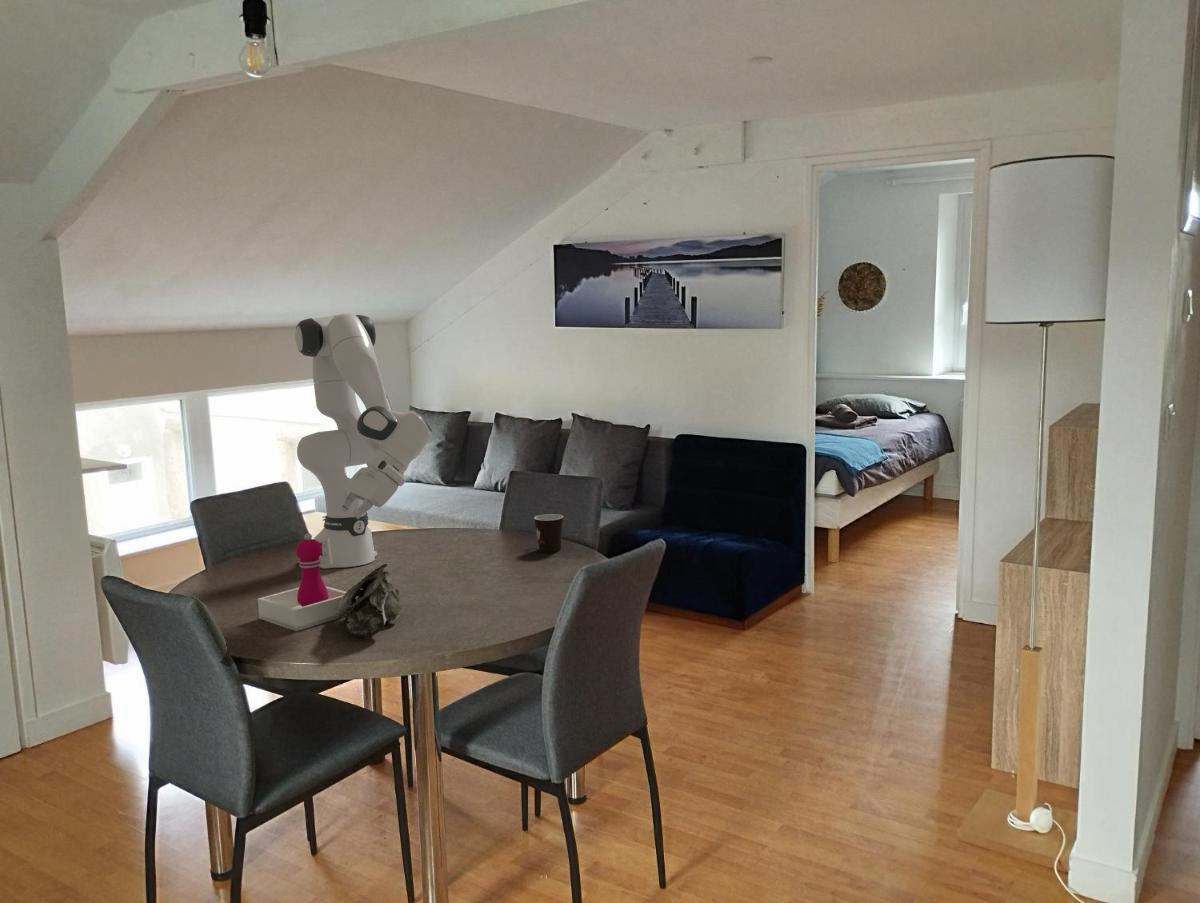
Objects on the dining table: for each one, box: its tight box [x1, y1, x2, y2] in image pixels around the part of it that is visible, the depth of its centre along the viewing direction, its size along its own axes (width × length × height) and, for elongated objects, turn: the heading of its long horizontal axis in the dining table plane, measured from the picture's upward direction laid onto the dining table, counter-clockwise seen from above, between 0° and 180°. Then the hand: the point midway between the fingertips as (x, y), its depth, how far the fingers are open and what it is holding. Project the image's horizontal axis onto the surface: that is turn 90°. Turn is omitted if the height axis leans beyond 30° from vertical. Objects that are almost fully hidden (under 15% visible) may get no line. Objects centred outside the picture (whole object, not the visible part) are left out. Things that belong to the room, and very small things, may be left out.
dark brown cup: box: [533, 513, 564, 554], centre depth 299 cm, size 12×9×10 cm
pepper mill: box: [295, 532, 329, 607], centre depth 238 cm, size 7×7×20 cm
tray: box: [257, 585, 347, 632], centre depth 242 cm, size 16×16×5 cm
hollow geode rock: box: [334, 563, 403, 640], centre depth 232 cm, size 28×13×15 cm
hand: (348, 513), depth 245 cm, fingers open, 8 cm apart
